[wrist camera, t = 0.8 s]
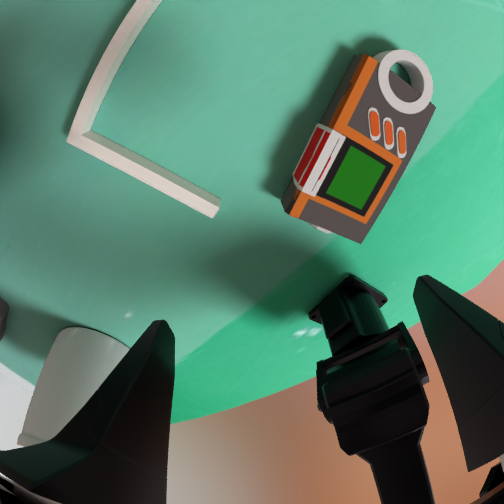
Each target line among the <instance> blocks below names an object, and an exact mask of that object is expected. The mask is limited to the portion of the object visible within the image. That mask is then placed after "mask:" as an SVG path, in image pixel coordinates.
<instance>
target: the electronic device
mask: <svg viewBox="0 0 504 504" xmlns="http://www.w3.org/2000/svg"><path fill="white" fill-rule="evenodd" d="M395 62H397V63H399V64H400V65H402V66H403V67H404V68H405V69H406V71H407V73H408V75H409V77H410V85H409V84H408V83H407V82H405V81H404V80H403V79H402V78H400V77H399V76H398V75H396V74H395V73H394V72H392V71H391V70H390V68H391V66H392V65H393V64H394V63H395ZM432 93H433V82H432V77H431V74H430V71H429V69H428V67H427V66H426V64H425V63H424V62H423V60H422V59H421V58H419V57H418V56H417V55H416V54H414V53H412V52H410V51H407V50H391V51H384V52H381V53H378V54H377V55H375V56H374V57H373V58H372V57H370V56H369V55H366V54H360V55H355V56H354V57H353V59H352V61H351V63H350V65H349V67H348V69H347V71H346V73H345V75H344V77H343V79H342V81H341V83H340V84H339V86H338V88H337V90H336V92H335V94H334V96H333V98H332V100H331V102H330V104H329V106H328V108H327V110H326V112H325V114H324V116H323V118H322V120H321V121H320V123H317V125H316V127H315V129H314V131H313V133H312V135H311V137H310V139H309V141H308V143H307V145H306V147H305V149H304V151H303V154H302V156H301V158H300V160H299V162H298V164H297V166H296V168H295V170H294V172H293V174H292V175H293V178H292V180H291V182H290V184H289V186H288V188H287V190H286V192H285V194H284V196H283V198H282V200H281V203H282V206H283V208H284V211H285V212H286V213H287V214H289V215H290V216H293V217H296V218H298V219H301V220H303V221H306V222H308V223H309V224H311V225H312V226H313V227H315V228H316V229H318V230H321V231H323V232H326V233H336V234H338V235H341V236H343V237H345V238H348V239H350V240H353V241H355V242H357V243H360V244H361V243H362V242H363V240H364V238H365V237H366V235H367V234H368V232H369V230H370V229H371V227H372V226H373V224H374V222H375V221H376V219H377V218H378V216H379V214H380V213H381V211H382V209H383V208H384V206H385V204H386V202H387V201H388V199H389V197H390V196H391V194H392V192H393V190H394V189H395V187H396V185H397V183H398V182H399V180H400V178H401V176H402V174H403V173H404V171H405V169H406V167H407V165H408V163H409V161H410V159H411V158H412V156H413V154H414V152H415V150H416V148H417V146H418V144H419V142H420V140H421V138H422V136H423V134H424V132H425V130H426V128H427V126H428V124H429V122H430V120H431V117H432V115H433V113H434V111H435V109H436V107H435V106H434V105H433V104H432V103H431V102H430V100H431V97H432Z"/></svg>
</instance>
